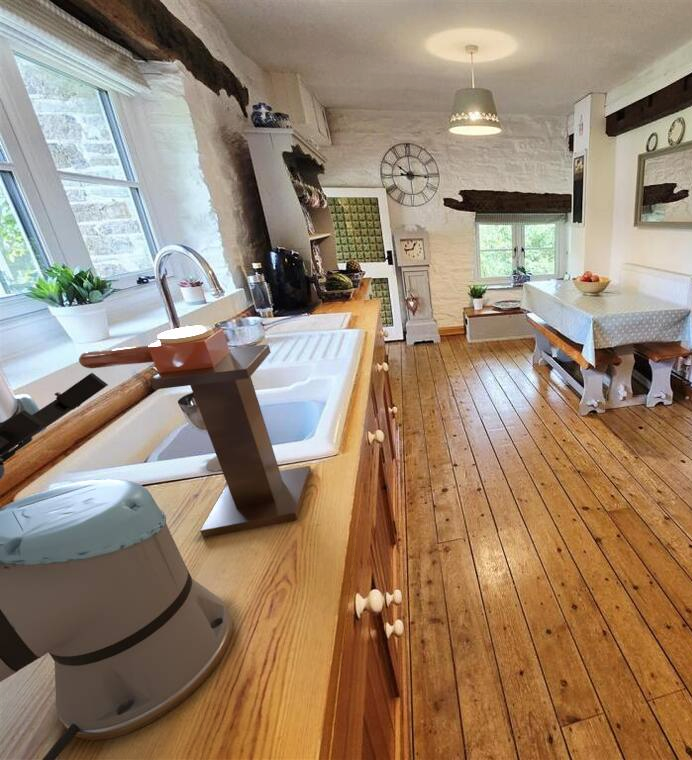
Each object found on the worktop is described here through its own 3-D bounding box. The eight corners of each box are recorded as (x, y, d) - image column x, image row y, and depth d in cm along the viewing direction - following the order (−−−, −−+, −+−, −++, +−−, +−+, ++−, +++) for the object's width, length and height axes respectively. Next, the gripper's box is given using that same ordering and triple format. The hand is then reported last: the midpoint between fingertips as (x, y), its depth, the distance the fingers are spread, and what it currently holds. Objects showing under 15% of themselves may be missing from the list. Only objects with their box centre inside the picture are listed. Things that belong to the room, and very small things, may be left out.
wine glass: (256, 450, 89) (235, 387, 83) (230, 472, 82) (205, 405, 76) (222, 449, 90) (200, 387, 84) (193, 471, 82) (166, 405, 76)
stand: (202, 537, 65) (136, 383, 55) (232, 485, 78) (183, 351, 67) (297, 519, 68) (251, 370, 58) (311, 471, 81) (276, 341, 70)
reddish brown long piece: (70, 383, 56) (53, 350, 54) (102, 365, 62) (88, 335, 60) (213, 367, 60) (202, 335, 58) (230, 352, 66) (221, 323, 64)
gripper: (42, 452, 72) (139, 383, 72) (-113, 560, 50) (28, 460, 50) (-4, 423, 69) (98, 350, 69) (-192, 525, 47) (-41, 418, 47)
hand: (69, 396), depth 59 cm, fingers open, 13 cm apart
